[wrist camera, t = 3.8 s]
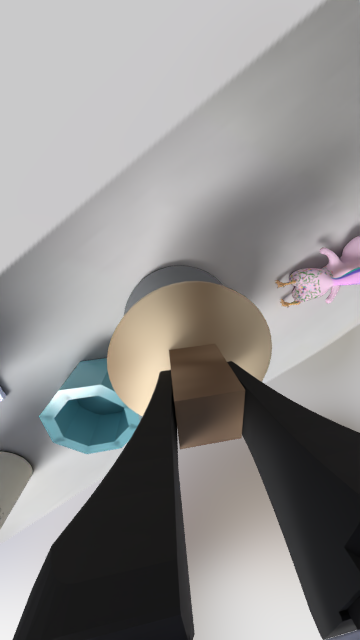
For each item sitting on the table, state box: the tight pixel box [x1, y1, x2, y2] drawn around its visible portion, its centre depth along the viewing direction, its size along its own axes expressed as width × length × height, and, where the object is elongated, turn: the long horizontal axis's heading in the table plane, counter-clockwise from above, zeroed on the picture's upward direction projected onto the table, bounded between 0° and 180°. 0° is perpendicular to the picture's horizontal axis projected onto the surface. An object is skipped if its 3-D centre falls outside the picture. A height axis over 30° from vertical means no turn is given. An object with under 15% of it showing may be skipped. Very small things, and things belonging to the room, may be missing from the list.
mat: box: [124, 266, 223, 315], centre depth 18 cm, size 12×12×1 cm
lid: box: [107, 281, 272, 449], centre depth 10 cm, size 11×11×5 cm
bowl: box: [39, 358, 143, 454], centre depth 19 cm, size 9×9×4 cm
